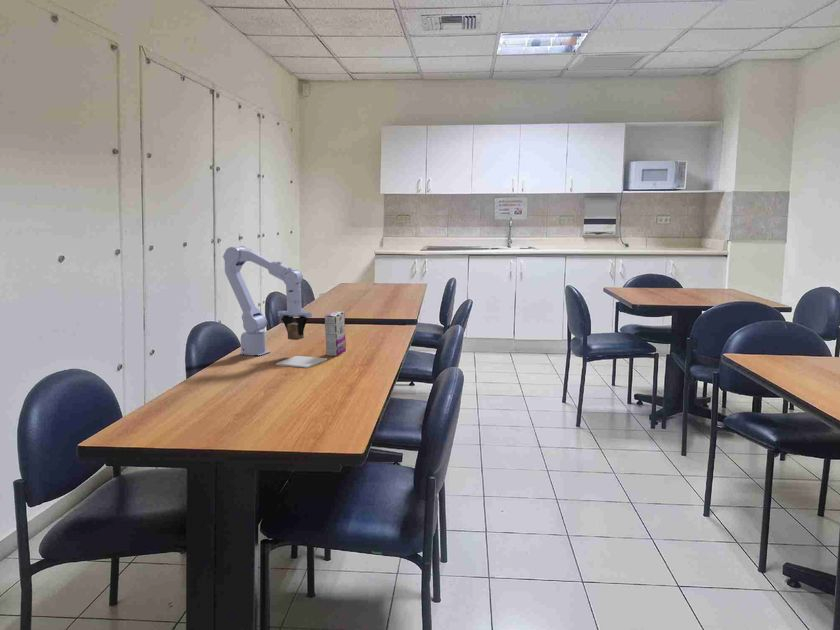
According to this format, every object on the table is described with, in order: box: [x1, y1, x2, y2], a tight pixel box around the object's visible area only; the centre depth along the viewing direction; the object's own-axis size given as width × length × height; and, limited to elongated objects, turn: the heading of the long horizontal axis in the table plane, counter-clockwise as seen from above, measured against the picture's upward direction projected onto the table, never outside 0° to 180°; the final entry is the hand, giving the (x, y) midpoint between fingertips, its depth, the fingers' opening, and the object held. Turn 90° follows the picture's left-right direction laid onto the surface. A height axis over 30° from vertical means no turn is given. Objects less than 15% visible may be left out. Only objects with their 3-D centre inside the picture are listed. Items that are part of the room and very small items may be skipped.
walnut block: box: [286, 322, 305, 341], centre depth 253 cm, size 4×4×6 cm
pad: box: [275, 355, 328, 369], centre depth 242 cm, size 14×14×1 cm
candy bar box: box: [324, 311, 347, 357], centre depth 257 cm, size 11×5×16 cm, turn 168°
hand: (295, 334), depth 254 cm, fingers closed on walnut block, 4 cm apart
